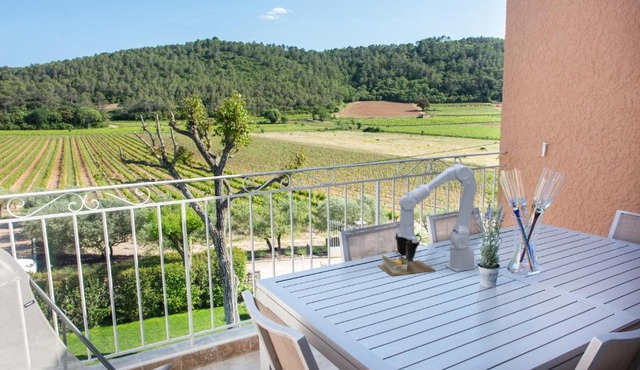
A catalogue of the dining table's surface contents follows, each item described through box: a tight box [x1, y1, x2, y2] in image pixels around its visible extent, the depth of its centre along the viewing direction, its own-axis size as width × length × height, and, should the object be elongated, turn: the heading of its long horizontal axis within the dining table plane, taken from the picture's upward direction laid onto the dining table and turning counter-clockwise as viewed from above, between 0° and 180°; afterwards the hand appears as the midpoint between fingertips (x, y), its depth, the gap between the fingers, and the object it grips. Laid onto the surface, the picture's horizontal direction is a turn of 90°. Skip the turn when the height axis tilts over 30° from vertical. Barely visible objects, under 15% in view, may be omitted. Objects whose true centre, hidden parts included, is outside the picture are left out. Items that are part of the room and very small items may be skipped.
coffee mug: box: [395, 231, 422, 257], centre depth 224 cm, size 12×9×10 cm
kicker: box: [398, 247, 414, 267], centre depth 203 cm, size 5×6×8 cm
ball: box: [394, 258, 402, 266], centre depth 202 cm, size 4×4×4 cm
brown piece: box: [377, 254, 437, 277], centre depth 203 cm, size 20×14×6 cm
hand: (406, 255), depth 203 cm, fingers open, 7 cm apart
